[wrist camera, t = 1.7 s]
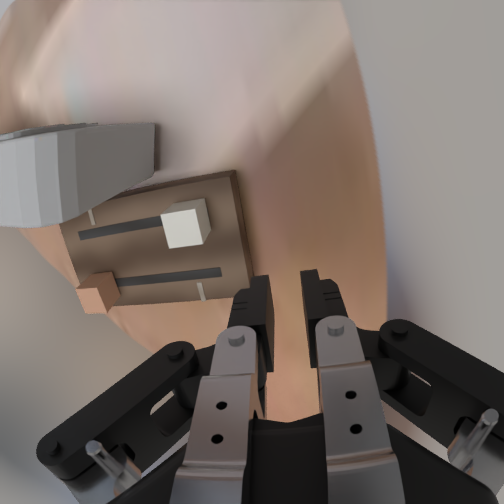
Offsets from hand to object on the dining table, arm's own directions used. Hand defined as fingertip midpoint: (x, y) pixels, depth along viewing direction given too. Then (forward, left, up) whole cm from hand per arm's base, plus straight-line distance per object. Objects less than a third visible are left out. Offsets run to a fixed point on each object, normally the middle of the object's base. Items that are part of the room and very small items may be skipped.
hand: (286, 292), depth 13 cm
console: (+3, -14, -19) cm, 24 cm away
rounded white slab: (-10, -25, -19) cm, 33 cm away
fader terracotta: (+6, -20, -15) cm, 26 cm away
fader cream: (0, -8, -15) cm, 17 cm away
